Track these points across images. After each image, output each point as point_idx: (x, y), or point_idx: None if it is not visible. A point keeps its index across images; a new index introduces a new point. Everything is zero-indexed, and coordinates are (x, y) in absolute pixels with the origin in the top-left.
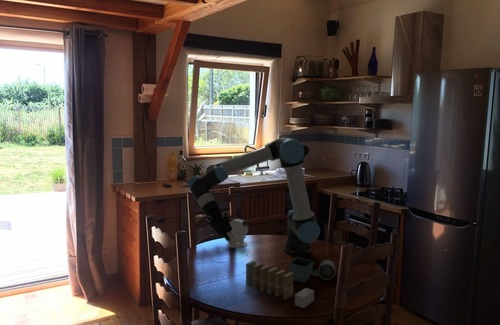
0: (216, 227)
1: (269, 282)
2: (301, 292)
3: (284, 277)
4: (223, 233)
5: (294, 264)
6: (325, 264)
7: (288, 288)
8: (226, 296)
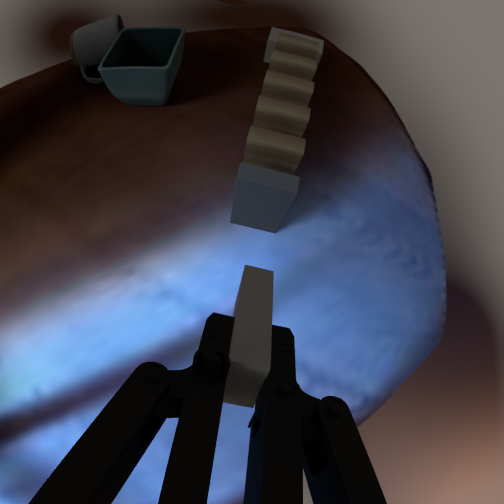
0: (371, 487)
1: None
2: None
3: (317, 51)
4: (311, 396)
5: (174, 53)
6: (117, 21)
7: None
8: (387, 254)
